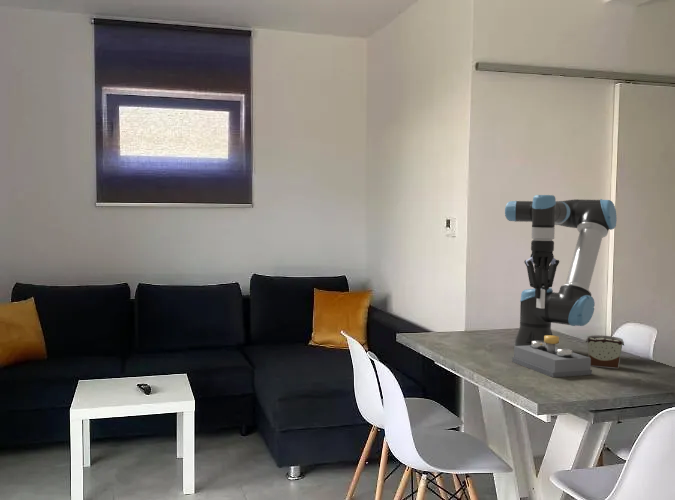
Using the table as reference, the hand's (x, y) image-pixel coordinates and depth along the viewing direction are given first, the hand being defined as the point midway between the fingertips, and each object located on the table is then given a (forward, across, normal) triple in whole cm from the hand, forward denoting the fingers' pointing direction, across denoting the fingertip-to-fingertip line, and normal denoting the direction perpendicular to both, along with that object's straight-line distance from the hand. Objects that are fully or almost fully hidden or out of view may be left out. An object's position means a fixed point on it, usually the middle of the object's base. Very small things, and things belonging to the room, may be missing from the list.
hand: (540, 307), depth 237 cm
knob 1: (+17, 0, 0) cm, 17 cm away
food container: (+20, -21, +8) cm, 30 cm away
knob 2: (+17, 0, +14) cm, 22 cm away
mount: (+19, 0, +7) cm, 21 cm away
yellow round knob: (+14, 0, +7) cm, 16 cm away
